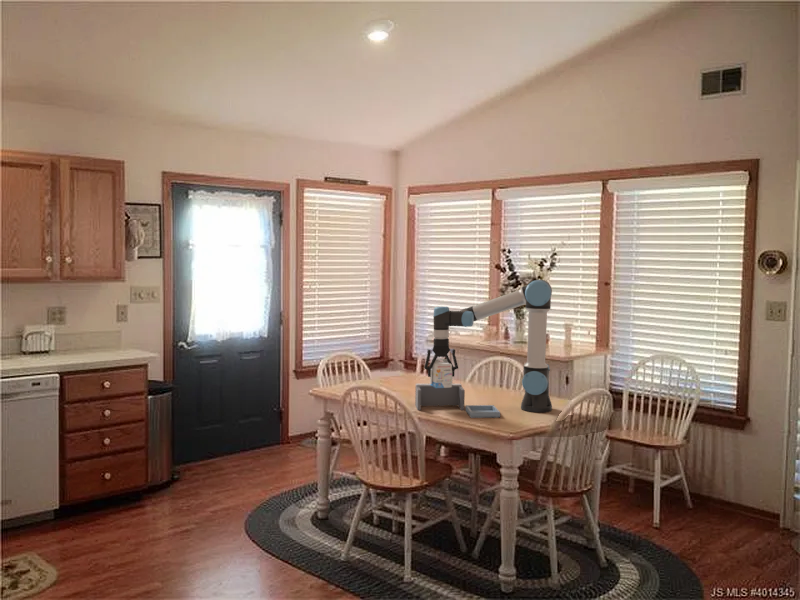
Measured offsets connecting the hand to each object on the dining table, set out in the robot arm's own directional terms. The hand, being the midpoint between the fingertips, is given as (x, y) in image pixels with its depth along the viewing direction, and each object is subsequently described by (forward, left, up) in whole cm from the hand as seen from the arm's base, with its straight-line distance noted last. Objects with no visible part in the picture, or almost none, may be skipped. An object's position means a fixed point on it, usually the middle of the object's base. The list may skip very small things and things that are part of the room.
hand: (441, 383), depth 351 cm
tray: (-19, +12, -13) cm, 25 cm away
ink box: (0, 0, -2) cm, 2 cm away
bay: (0, -3, -13) cm, 13 cm away
